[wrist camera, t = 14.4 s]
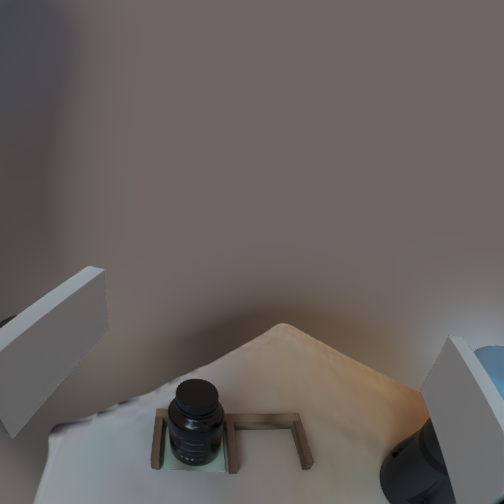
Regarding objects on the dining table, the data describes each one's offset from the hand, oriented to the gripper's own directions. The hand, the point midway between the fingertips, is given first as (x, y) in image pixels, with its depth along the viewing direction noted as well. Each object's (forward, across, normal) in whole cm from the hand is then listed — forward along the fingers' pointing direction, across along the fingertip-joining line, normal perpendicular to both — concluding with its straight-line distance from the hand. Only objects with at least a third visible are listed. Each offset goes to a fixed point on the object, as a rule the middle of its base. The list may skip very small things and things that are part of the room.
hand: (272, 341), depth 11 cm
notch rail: (+17, -1, -32) cm, 36 cm away
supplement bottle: (+15, -6, -32) cm, 36 cm away
